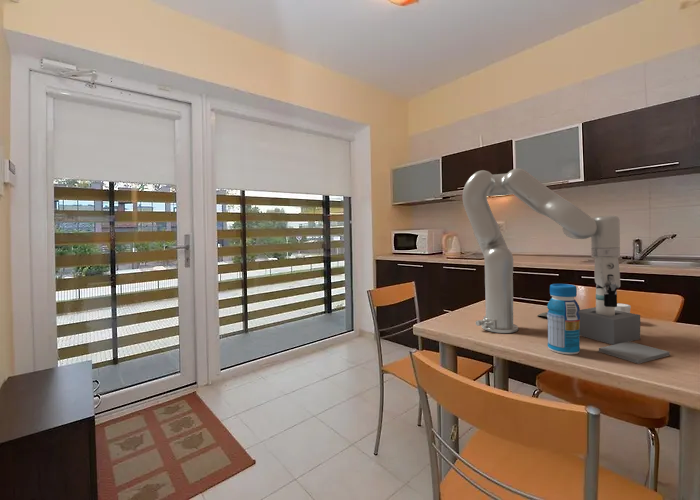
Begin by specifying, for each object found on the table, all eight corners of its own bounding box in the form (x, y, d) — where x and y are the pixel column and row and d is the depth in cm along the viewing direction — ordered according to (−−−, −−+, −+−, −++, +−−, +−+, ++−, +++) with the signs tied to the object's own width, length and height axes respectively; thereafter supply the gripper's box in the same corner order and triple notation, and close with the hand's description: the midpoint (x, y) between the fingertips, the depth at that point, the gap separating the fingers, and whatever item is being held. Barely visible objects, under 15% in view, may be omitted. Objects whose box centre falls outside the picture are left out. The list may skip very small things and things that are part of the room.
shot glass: (628, 321, 124) (628, 303, 123) (632, 326, 118) (632, 307, 118) (606, 319, 127) (606, 302, 127) (608, 323, 122) (608, 305, 121)
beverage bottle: (544, 351, 97) (544, 286, 96) (549, 343, 103) (548, 282, 102) (579, 357, 91) (578, 288, 90) (581, 348, 98) (581, 284, 97)
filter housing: (613, 345, 100) (614, 319, 99) (572, 333, 112) (572, 311, 112) (640, 339, 104) (640, 314, 104) (597, 328, 116) (597, 306, 116)
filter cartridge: (608, 333, 105) (608, 291, 104) (592, 329, 109) (592, 289, 109) (618, 331, 106) (618, 289, 106) (602, 327, 111) (602, 287, 111)
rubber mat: (638, 363, 86) (638, 360, 86) (598, 351, 95) (598, 348, 95) (669, 355, 90) (669, 351, 90) (628, 344, 100) (628, 341, 100)
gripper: (629, 254, 97) (629, 310, 98) (611, 251, 113) (611, 298, 114) (598, 255, 100) (599, 308, 101) (585, 251, 116) (586, 298, 117)
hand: (605, 303), depth 107 cm, fingers open, 9 cm apart
